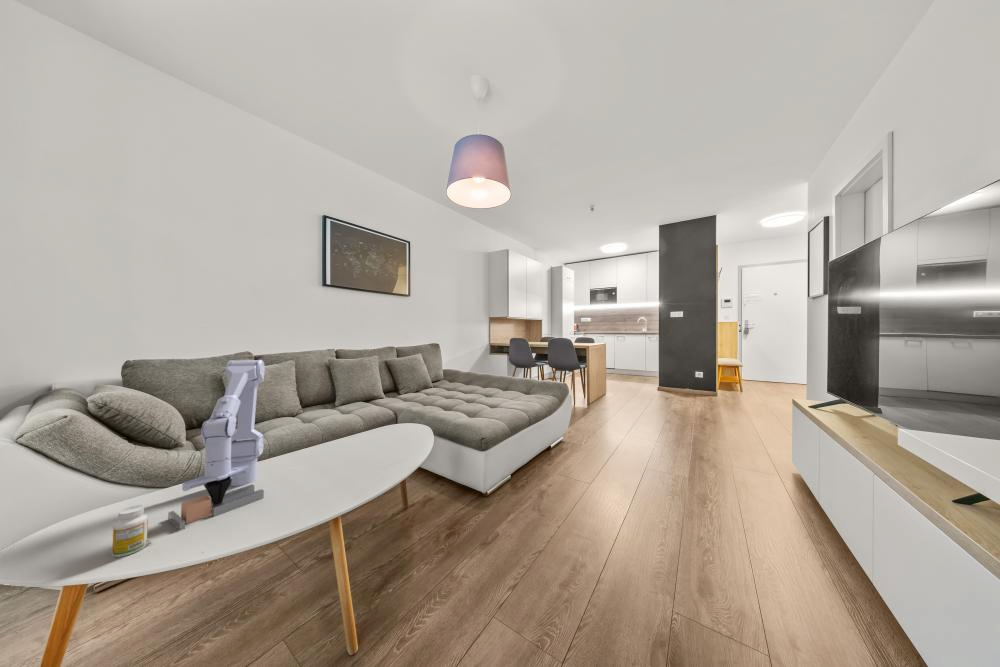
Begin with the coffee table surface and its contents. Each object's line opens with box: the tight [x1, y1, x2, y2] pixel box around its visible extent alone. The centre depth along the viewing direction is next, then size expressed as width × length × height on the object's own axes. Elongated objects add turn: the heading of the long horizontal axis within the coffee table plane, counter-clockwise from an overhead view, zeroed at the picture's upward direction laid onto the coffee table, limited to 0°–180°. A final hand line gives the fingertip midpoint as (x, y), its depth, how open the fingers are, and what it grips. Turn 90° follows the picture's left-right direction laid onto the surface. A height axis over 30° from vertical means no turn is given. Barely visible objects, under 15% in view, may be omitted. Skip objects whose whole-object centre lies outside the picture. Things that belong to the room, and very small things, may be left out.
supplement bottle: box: [111, 504, 149, 558], centre depth 74 cm, size 5×5×10 cm
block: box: [180, 494, 212, 525], centre depth 86 cm, size 4×5×4 cm
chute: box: [167, 484, 265, 532], centre depth 92 cm, size 10×22×4 cm, turn 149°
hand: (217, 505), depth 90 cm, fingers closed
